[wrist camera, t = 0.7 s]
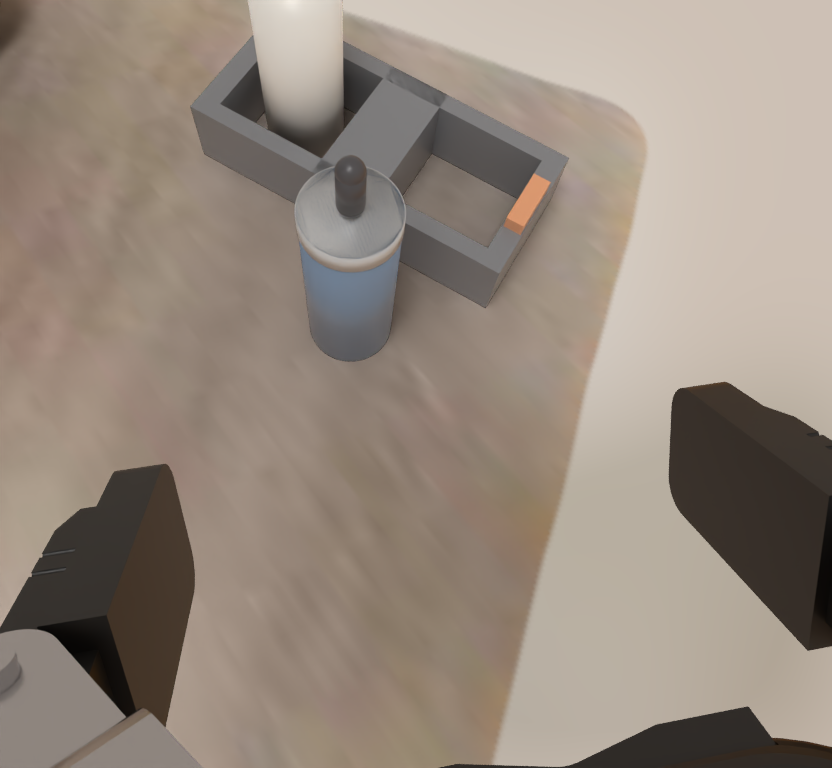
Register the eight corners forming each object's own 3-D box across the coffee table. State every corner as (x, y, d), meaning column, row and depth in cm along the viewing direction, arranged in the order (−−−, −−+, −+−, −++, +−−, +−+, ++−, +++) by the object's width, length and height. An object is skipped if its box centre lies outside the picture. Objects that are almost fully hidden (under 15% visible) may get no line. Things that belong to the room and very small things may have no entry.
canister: (292, 336, 39) (263, 177, 26) (336, 273, 41) (330, 92, 28) (364, 377, 39) (372, 236, 26) (406, 312, 40) (434, 147, 27)
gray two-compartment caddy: (204, 153, 43) (138, -70, 29) (283, 59, 46) (256, -183, 32) (485, 307, 41) (551, 144, 28) (550, 199, 44) (637, 4, 30)
